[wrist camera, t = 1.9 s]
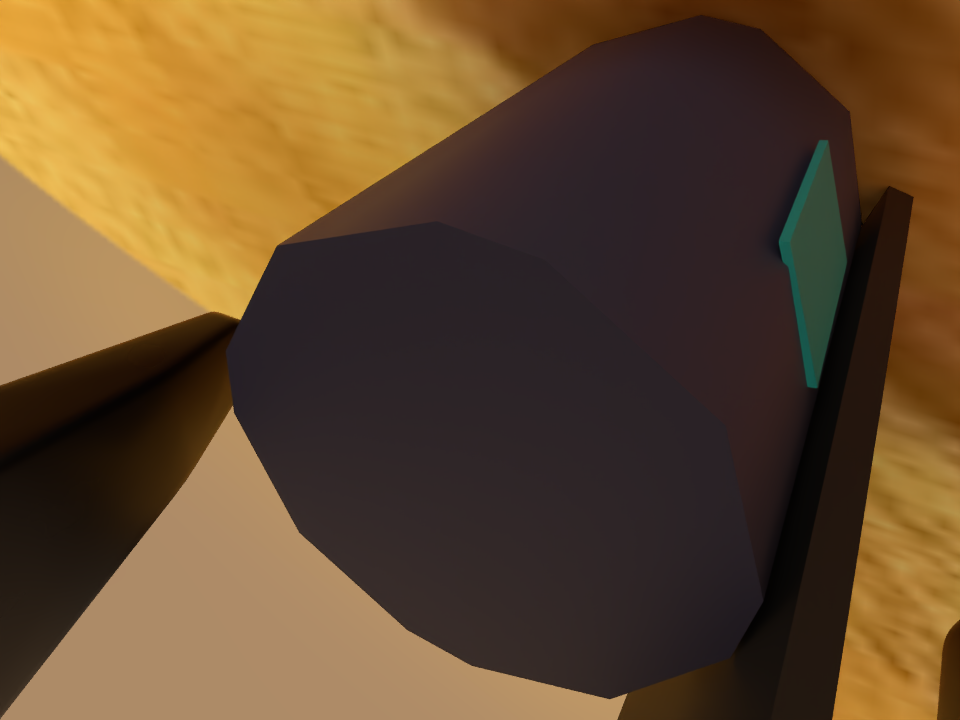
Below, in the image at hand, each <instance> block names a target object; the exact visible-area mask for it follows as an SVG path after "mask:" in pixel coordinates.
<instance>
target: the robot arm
mask: <svg viewBox="0 0 960 720" xmlns="http://www.w3.org/2000/svg"><path fill="white" fill-rule="evenodd" d="M239 322H240V320H238V319H236V318H233V317H230V316H227V315H224V314H222V313H219V312H210V313H206V314H203V315H200V316H197V317H194V318H192V319H189V320H186V321H183V322H181V323H177V324H174V325H172V326H169V327H166V328H163V329H160V330H158V331H155V332H152V333H149V334H146V335H143V336H140V337H137V338H135V339H132V340H129V341H126V342H123V343H120V344H118V345H115V346H112V347H109V348H106V349H103V350H100V351H97V352H95V353H92V354H89V355H86V356H83V357H81V358H77V359H75V360H72V361H69V362H66V363H64V364H60V365H58V366H55V367H52V368H49V369H46V370H43V371H41V372H38V373H35V374H32V375H29V376H26V377H23V378H20V379H18V380H15V381H12V382H9V383H7V384H3V385H1V386H0V718H1V717H2V716H3V715H4V713H5V712H6V711H7V710H8V708H9V707H10V706H11V704H12V703H13V702H14V700H15V699H16V698H17V697H18V695H19V694H20V693H21V691H22V690H23V689H24V688H25V686H26V685H27V684H28V683H29V681H30V680H31V679H32V678H33V676H34V675H35V674H36V672H37V671H38V670H39V669H40V667H41V666H42V665H43V663H44V662H45V661H46V660H47V658H48V657H49V656H50V655H51V653H52V652H53V651H54V649H55V648H56V647H57V646H58V644H59V643H60V642H61V640H62V639H63V638H64V637H65V635H66V634H67V632H68V631H69V630H70V629H71V628H72V626H73V625H74V624H75V622H76V621H77V620H78V619H79V617H80V616H81V615H82V614H83V612H84V611H85V610H86V608H87V607H88V606H89V605H90V603H91V602H92V601H93V600H94V598H95V597H96V596H97V594H98V593H99V592H100V591H101V589H102V588H103V587H104V585H105V584H106V583H107V582H108V580H109V579H110V578H111V577H112V575H113V574H114V573H115V571H116V570H117V569H118V568H119V566H120V565H121V564H122V562H123V561H124V560H125V559H126V557H127V556H128V555H129V554H130V552H131V551H132V550H133V548H134V547H135V546H136V545H137V543H138V542H139V541H140V539H141V538H142V537H143V536H144V534H145V533H146V532H147V530H148V529H149V528H150V527H151V525H152V524H153V523H154V522H155V520H156V519H157V518H158V516H159V515H160V514H161V513H162V511H163V510H164V509H165V507H166V506H167V505H168V504H169V502H170V501H171V500H172V499H173V497H174V496H175V495H176V493H177V492H178V491H179V489H180V488H181V487H182V485H183V484H184V482H185V481H186V480H187V478H188V477H189V475H190V473H191V472H192V470H193V469H194V467H195V466H196V464H197V463H198V461H199V459H200V458H201V456H202V455H203V453H204V451H205V450H206V448H207V446H208V445H209V443H210V442H211V440H212V438H213V437H214V435H215V433H216V432H217V430H218V429H219V427H220V425H221V424H222V422H223V420H224V419H225V417H226V415H227V414H228V412H229V410H230V409H231V407H232V406H233V400H232V393H231V386H230V379H229V372H228V365H227V358H226V349H227V347H228V345H229V343H230V341H231V339H232V337H233V335H234V333H235V331H236V329H237V327H238V325H239ZM937 720H960V620H959V621H958V622H957V623H956V624H955V625H954V626H953V627H952V628H951V629H950V630H949V632H948V634H947V636H946V638H945V641H944V645H943V652H942V665H941V677H940V689H939V702H938V714H937Z"/></svg>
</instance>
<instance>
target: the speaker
mask: <svg viewBox="0 0 960 720" xmlns="http://www.w3.org/2000/svg"><path fill="white" fill-rule="evenodd" d="M913 198H914V197H912V196H910V195H908V194H906V193H903V192H901V191H899V190H897V189H894V188H892V187H890V186H889V187H888V189H887V190H886V192H885V193H884V195H883V196H882V198H881V199H880V201H879V202H878V204H877V205H876V206H875V208H874V209H873V211H872V212H871V214H870V215H869V217H868V218H867V220H866V221H865V223H864V224H863V225H862V221H861V212H860V202H859V193H858V184H857V175H856V165H855V156H854V147H853V138H852V128H851V119H850V112H849V111H848V110H847V109H846V108H845V107H844V106H843V105H842V104H841V103H840V102H839V101H838V100H837V99H835V98H834V97H833V96H832V95H831V94H830V93H829V92H828V91H827V90H826V89H825V88H824V87H822V86H821V85H820V84H819V83H818V82H817V81H816V80H815V79H814V78H813V77H812V76H811V75H810V74H808V73H807V72H806V71H805V70H804V69H803V68H802V67H801V66H800V65H799V64H798V63H797V62H796V61H794V60H793V59H792V58H791V57H790V56H789V55H788V54H787V53H786V52H785V51H784V50H783V49H782V48H780V47H779V46H778V45H777V44H776V43H775V42H774V41H773V40H772V39H771V38H770V37H769V36H768V35H766V34H765V33H764V32H763V31H762V30H761V29H758V28H754V27H749V26H745V25H741V24H737V23H733V22H728V21H724V20H720V19H716V18H711V17H707V16H703V15H700V16H696V17H692V18H689V19H685V20H681V21H678V22H674V23H670V24H667V25H663V26H660V27H656V28H652V29H649V30H645V31H641V32H638V33H634V34H630V35H627V36H623V37H620V38H616V39H612V40H609V41H605V42H601V43H598V44H594V45H592V46H590V47H589V48H587V49H586V50H584V51H582V52H581V53H579V54H578V55H576V56H575V57H573V58H571V59H570V60H568V61H567V62H565V63H564V64H562V65H560V66H559V67H557V68H556V69H554V70H553V71H551V72H549V73H548V74H546V75H545V76H543V77H542V78H540V79H538V80H537V81H535V82H534V83H532V84H531V85H529V86H527V87H526V88H524V89H523V90H521V91H520V92H518V93H516V94H515V95H513V96H512V97H510V98H509V99H507V100H505V101H504V102H502V103H501V104H499V105H498V106H496V107H494V108H493V109H491V110H490V111H488V112H487V113H485V114H483V115H482V116H480V117H479V118H477V119H475V120H474V121H472V122H471V123H469V124H468V125H466V126H464V127H463V128H461V129H460V130H458V131H457V132H455V133H453V134H452V135H450V136H449V137H447V138H446V139H444V140H442V141H441V142H439V143H438V144H436V145H435V146H433V147H431V148H430V149H428V150H427V151H425V152H424V153H422V154H420V155H419V156H417V157H416V158H414V159H413V160H411V161H409V162H408V163H406V164H405V165H403V166H402V167H400V168H398V169H397V170H395V171H394V172H392V173H391V174H389V175H387V176H386V177H384V178H383V179H381V180H380V181H378V182H376V183H375V184H373V185H372V186H370V187H369V188H367V189H365V190H364V191H362V192H361V193H359V194H358V195H356V196H354V197H353V198H351V199H350V200H348V201H347V202H345V203H343V204H342V205H340V206H339V207H337V208H336V209H334V210H332V211H331V212H329V213H328V214H326V215H325V216H323V217H321V218H320V219H318V220H317V221H315V222H314V223H312V224H310V225H309V226H307V227H306V228H304V229H303V230H301V231H299V232H298V233H296V234H295V235H293V236H292V237H290V238H288V239H287V240H285V241H284V242H282V243H281V244H279V245H277V247H276V249H275V251H274V253H273V255H272V257H271V259H270V261H269V263H268V265H267V267H266V269H265V271H264V273H263V275H262V277H261V280H260V282H259V284H258V286H257V288H256V290H255V292H254V294H253V296H252V298H251V300H250V302H249V304H248V306H247V308H246V310H245V312H244V314H243V316H242V318H241V320H240V322H239V325H238V327H237V329H236V331H235V333H234V335H233V337H232V339H231V341H230V343H229V345H228V347H227V349H226V358H227V365H228V372H229V379H230V386H231V393H232V400H233V407H234V413H235V415H236V417H237V419H238V421H239V422H240V424H241V426H242V428H243V430H244V432H245V433H246V435H247V437H248V439H249V441H250V443H251V445H252V446H253V448H254V450H255V452H256V454H257V456H258V457H259V459H260V461H261V463H262V465H263V466H264V469H265V470H266V472H267V474H268V476H269V478H270V480H271V481H272V483H273V485H274V487H275V489H276V490H277V492H278V494H279V496H280V498H281V500H282V501H283V503H284V505H285V507H286V509H287V511H288V513H289V514H290V516H291V518H292V520H293V522H294V524H295V525H296V527H297V529H298V531H299V533H301V534H302V535H303V536H304V537H305V538H306V539H307V540H308V541H309V542H311V543H312V544H313V545H314V546H315V547H316V548H317V549H318V550H319V551H320V552H322V553H323V554H324V555H325V556H326V557H327V558H328V559H329V560H330V561H332V562H333V563H334V564H335V565H336V566H337V567H338V568H339V569H340V570H342V571H343V572H344V573H345V574H346V575H347V576H348V577H349V578H350V579H352V580H353V581H354V582H355V583H356V584H357V585H358V586H359V587H360V588H361V589H362V590H364V591H365V592H366V593H367V594H368V595H369V596H370V597H371V598H372V599H374V600H375V601H376V602H377V603H378V604H379V605H380V606H381V607H382V608H384V609H385V610H386V611H387V612H388V613H389V614H390V615H391V616H392V617H394V618H395V619H396V620H397V621H398V622H399V623H400V624H401V625H402V626H403V627H405V628H406V629H407V630H408V631H410V632H412V633H414V634H416V635H417V636H419V637H421V638H423V639H425V640H426V641H428V642H430V643H432V644H434V645H435V646H437V647H439V648H441V649H443V650H444V651H446V652H448V653H450V654H452V655H453V656H455V657H457V658H459V659H461V660H462V661H464V662H466V663H468V664H470V665H472V666H475V667H479V668H484V669H487V670H492V671H496V672H500V673H504V674H508V675H512V676H517V677H520V678H525V679H529V680H533V681H537V682H541V683H545V684H549V685H554V686H557V687H562V688H566V689H570V690H574V691H578V692H582V693H586V694H590V695H595V696H599V697H603V698H607V699H612V698H615V697H618V696H620V695H623V694H627V693H628V694H627V696H626V699H625V702H624V704H623V707H622V710H621V712H620V715H619V717H618V720H832V717H833V710H834V704H835V697H836V691H837V685H838V678H839V672H840V665H841V659H842V653H843V646H844V640H845V633H846V627H847V621H848V614H849V608H850V601H851V595H852V589H853V582H854V576H855V569H856V563H857V556H858V550H859V544H860V537H861V531H862V524H863V518H864V512H865V505H866V499H867V492H868V486H869V480H870V473H871V467H872V460H873V454H874V448H875V441H876V435H877V428H878V422H879V416H880V409H881V403H882V396H883V390H884V383H885V377H886V371H887V364H888V358H889V351H890V345H891V339H892V332H893V326H894V319H895V313H896V307H897V300H898V294H899V287H900V281H901V275H902V268H903V262H904V255H905V249H906V243H907V236H908V230H909V223H910V217H911V210H912V204H913ZM861 225H862V227H861Z"/></svg>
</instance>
